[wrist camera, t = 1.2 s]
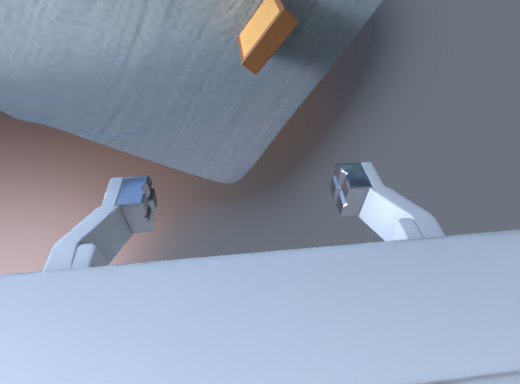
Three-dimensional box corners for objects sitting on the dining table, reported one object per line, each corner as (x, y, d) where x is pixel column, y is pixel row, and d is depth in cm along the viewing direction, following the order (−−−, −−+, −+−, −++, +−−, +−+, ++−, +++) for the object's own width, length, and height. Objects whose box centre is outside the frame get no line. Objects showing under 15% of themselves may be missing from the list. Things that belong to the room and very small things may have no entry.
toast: (250, 48, 46) (256, 75, 40) (236, 37, 45) (240, 64, 39) (286, 0, 42) (299, 22, 36) (272, -14, 41) (283, 7, 35)
